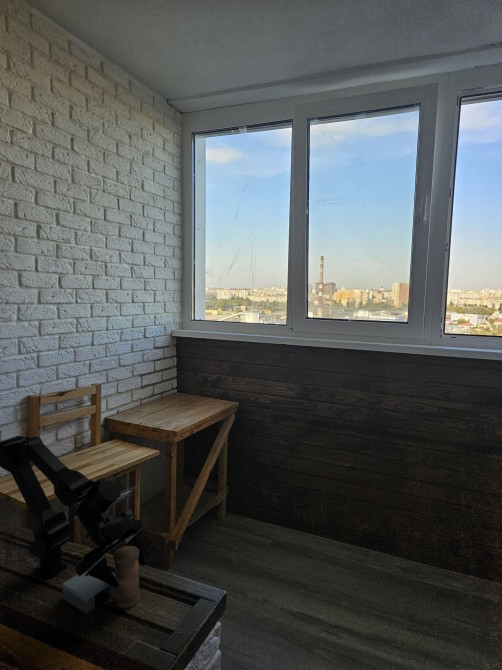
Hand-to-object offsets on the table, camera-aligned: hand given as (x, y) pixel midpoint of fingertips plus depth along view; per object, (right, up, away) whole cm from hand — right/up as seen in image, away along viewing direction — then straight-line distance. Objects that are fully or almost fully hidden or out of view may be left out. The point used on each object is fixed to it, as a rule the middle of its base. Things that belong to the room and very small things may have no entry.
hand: (131, 575), depth 104 cm
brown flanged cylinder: (-1, -7, +1) cm, 7 cm away
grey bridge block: (-11, -6, +3) cm, 13 cm away
